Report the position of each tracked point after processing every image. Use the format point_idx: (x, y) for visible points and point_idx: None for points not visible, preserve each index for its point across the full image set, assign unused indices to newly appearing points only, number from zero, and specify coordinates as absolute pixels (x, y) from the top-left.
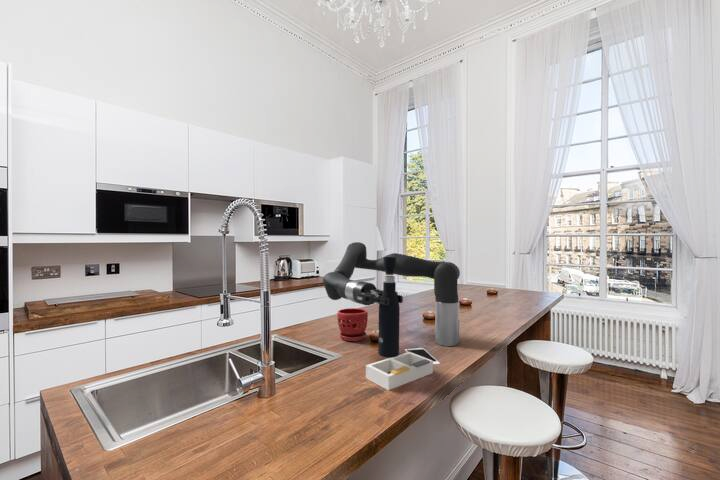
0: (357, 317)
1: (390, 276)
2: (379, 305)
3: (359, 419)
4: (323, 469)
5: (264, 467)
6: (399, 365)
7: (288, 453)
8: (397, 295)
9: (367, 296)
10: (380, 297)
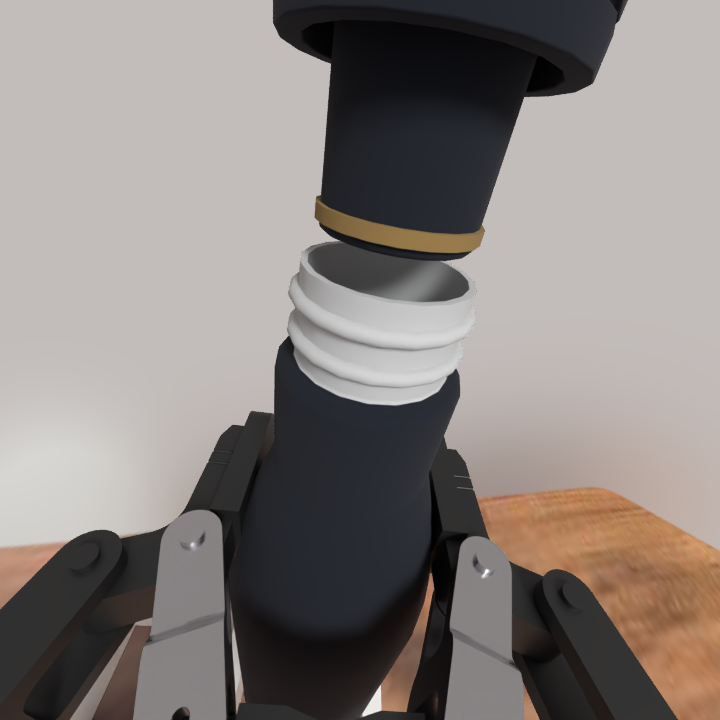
0: None
1: (317, 288)
2: (421, 604)
3: (517, 556)
4: (607, 493)
5: (716, 558)
6: (239, 683)
7: (679, 563)
8: (261, 446)
9: (630, 661)
10: (460, 519)
